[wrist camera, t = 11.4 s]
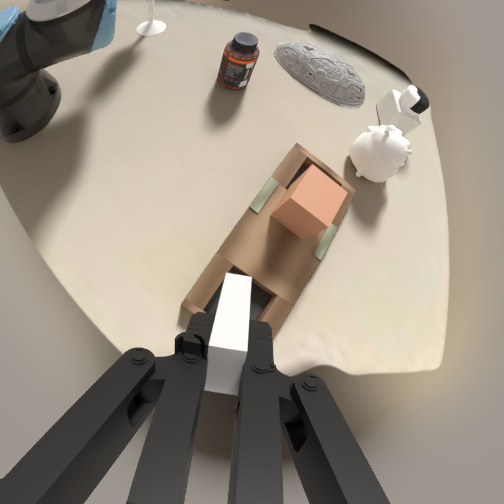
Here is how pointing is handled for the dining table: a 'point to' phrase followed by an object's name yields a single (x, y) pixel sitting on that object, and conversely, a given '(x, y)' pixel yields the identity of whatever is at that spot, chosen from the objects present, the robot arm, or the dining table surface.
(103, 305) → the dining table surface
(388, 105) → the medicine bottle
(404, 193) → the dining table surface
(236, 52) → the supplement bottle
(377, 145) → the figurine
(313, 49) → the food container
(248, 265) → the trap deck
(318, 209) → the block
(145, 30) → the champagne flute
